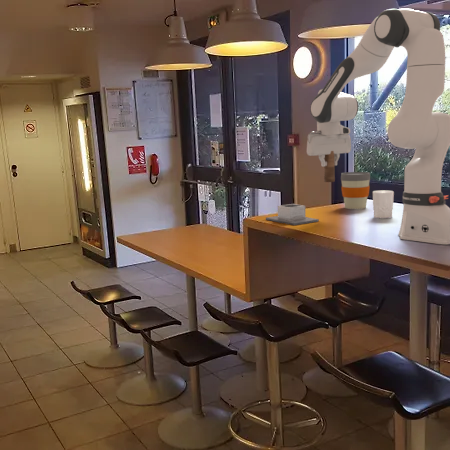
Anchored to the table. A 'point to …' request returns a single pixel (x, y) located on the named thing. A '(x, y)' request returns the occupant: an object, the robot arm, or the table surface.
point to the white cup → (383, 203)
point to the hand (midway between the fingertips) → (329, 166)
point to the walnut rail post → (329, 168)
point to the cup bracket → (292, 215)
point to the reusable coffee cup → (355, 189)
